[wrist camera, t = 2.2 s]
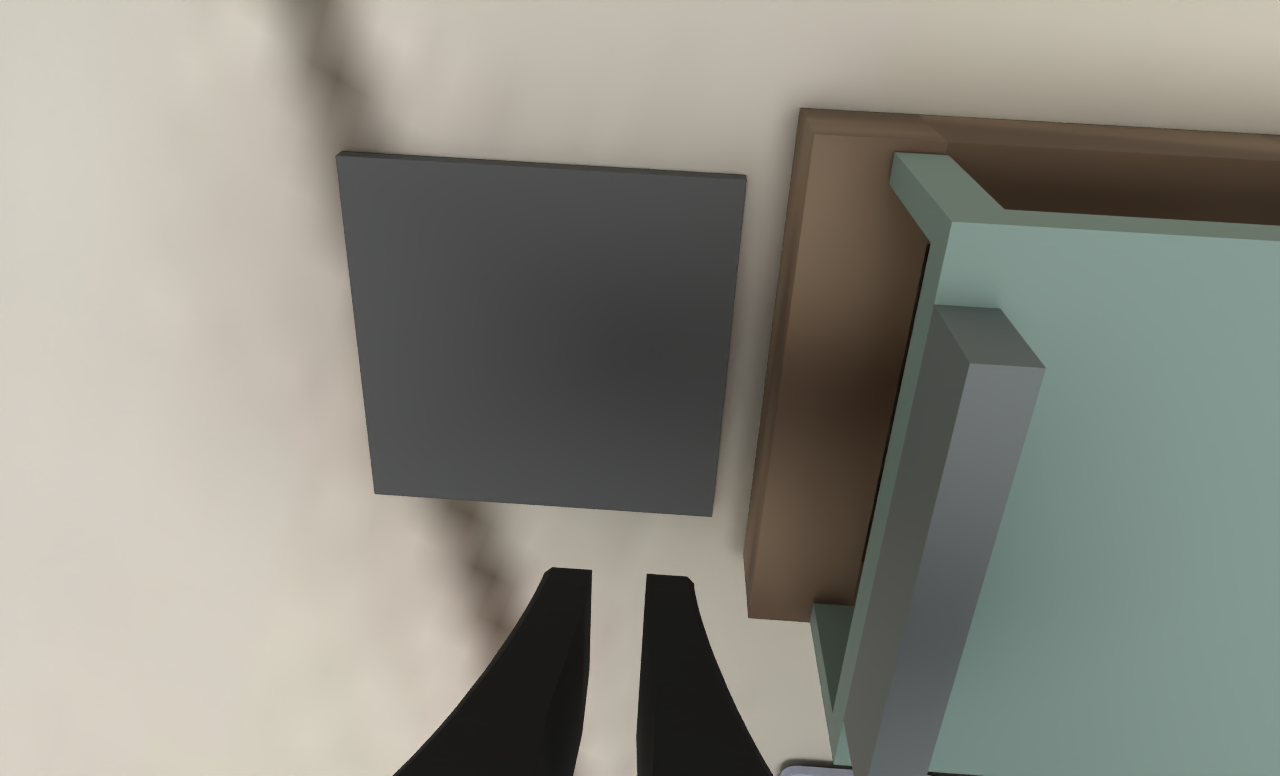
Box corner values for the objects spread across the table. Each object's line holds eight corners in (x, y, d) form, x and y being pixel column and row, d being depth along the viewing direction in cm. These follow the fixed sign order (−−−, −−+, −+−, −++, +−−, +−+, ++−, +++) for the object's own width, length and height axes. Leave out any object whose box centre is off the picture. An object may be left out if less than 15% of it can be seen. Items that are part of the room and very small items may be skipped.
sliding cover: (1177, 647, 22) (1337, 892, 17) (809, 621, 22) (848, 854, 17) (1385, 180, 16) (1729, 316, 11) (894, 152, 17) (992, 270, 11)
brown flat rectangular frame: (1558, 610, 24) (1644, 681, 22) (743, 554, 25) (748, 617, 22) (1867, 168, 18) (2025, 203, 16) (800, 108, 19) (814, 133, 17)
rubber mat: (711, 508, 24) (711, 517, 24) (379, 485, 24) (374, 494, 24) (745, 175, 20) (746, 180, 19) (341, 151, 20) (335, 155, 20)
